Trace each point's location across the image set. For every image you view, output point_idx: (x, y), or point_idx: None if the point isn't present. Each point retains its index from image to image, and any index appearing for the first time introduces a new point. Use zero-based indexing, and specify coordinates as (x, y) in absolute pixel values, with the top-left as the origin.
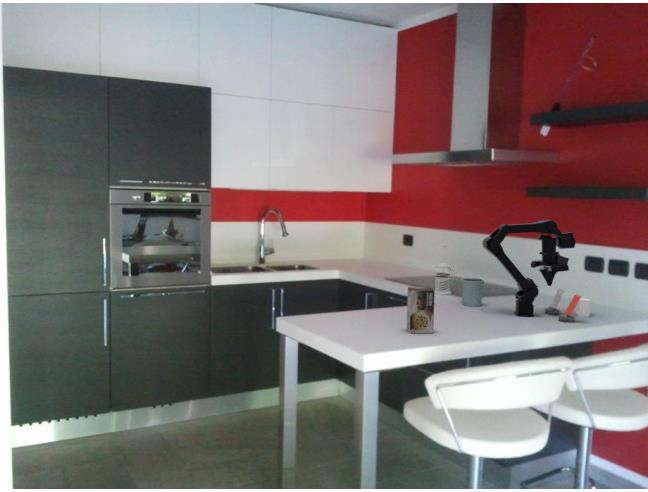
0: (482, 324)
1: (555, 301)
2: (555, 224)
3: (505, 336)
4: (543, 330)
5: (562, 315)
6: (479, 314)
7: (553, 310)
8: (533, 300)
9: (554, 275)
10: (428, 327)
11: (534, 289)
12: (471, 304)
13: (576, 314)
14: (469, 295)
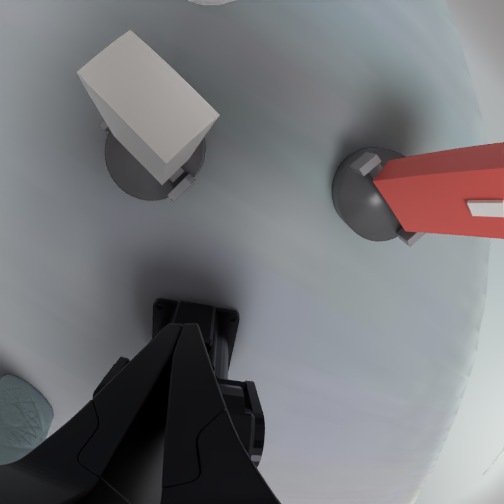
0: (325, 472)
1: (181, 162)
2: None
3: (436, 447)
4: (451, 371)
5: (361, 208)
6: None
7: (194, 166)
8: (254, 389)
9: (256, 471)
10: None
11: (259, 453)
12: (51, 421)
13: (208, 4)
14: None
